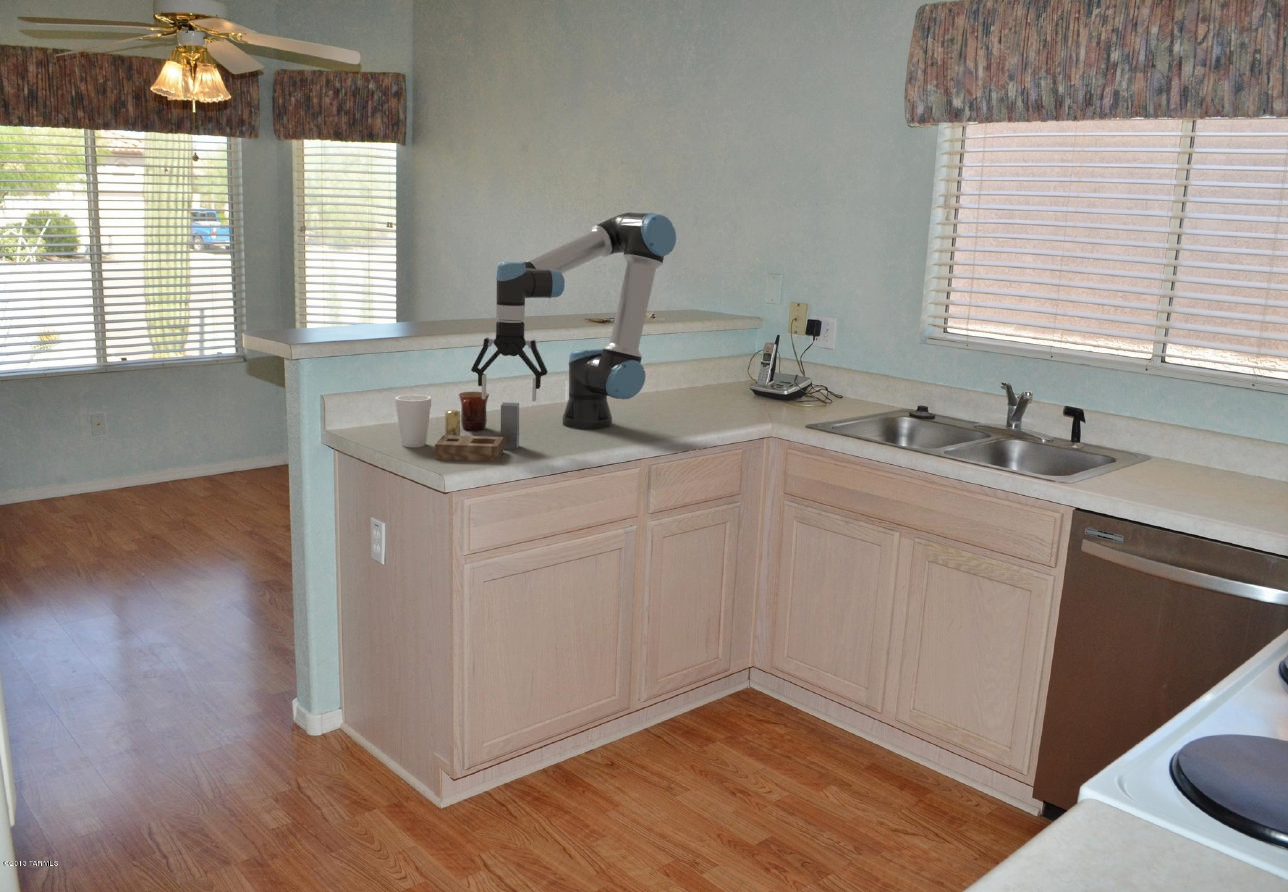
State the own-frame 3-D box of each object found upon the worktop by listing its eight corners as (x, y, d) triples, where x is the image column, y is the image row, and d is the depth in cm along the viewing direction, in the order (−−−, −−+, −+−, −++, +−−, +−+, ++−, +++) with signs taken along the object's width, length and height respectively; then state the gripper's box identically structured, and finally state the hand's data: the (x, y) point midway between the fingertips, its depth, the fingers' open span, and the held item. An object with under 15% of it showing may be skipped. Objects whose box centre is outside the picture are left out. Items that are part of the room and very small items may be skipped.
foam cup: (399, 440, 286) (398, 394, 283) (433, 441, 287) (432, 395, 284) (394, 448, 277) (393, 400, 274) (429, 449, 278) (428, 401, 275)
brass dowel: (461, 442, 287) (461, 410, 285) (458, 445, 283) (458, 413, 281) (446, 441, 287) (446, 409, 285) (444, 445, 283) (443, 412, 281)
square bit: (518, 445, 285) (519, 403, 282) (516, 449, 281) (517, 406, 278) (502, 445, 285) (503, 402, 282) (500, 448, 281) (500, 405, 278)
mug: (465, 424, 310) (465, 390, 308) (493, 426, 308) (493, 392, 306) (450, 432, 299) (449, 397, 296) (478, 434, 297) (478, 399, 295)
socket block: (503, 451, 278) (503, 437, 277) (497, 461, 267) (497, 446, 266) (443, 449, 278) (443, 435, 277) (435, 459, 267) (435, 444, 266)
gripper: (558, 321, 279) (556, 399, 283) (466, 317, 279) (465, 395, 283) (555, 324, 271) (553, 404, 276) (460, 320, 271) (460, 399, 276)
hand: (509, 399), depth 280 cm, fingers open, 13 cm apart
